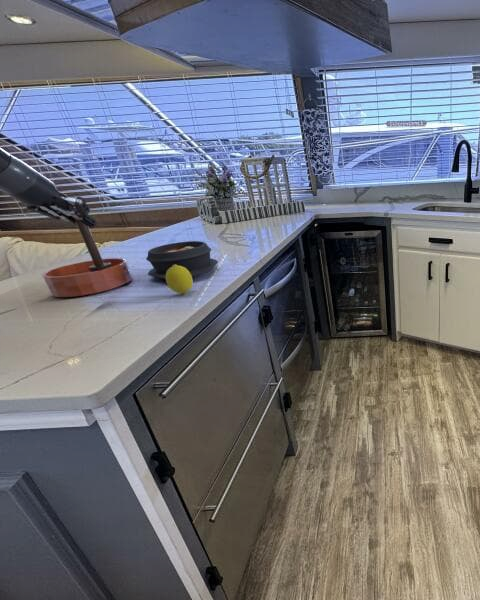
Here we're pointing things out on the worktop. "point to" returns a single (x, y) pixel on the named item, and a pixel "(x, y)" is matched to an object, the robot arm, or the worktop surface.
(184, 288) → the lemon
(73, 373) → the worktop surface
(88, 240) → the muddler
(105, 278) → the bowl
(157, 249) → the casserole
